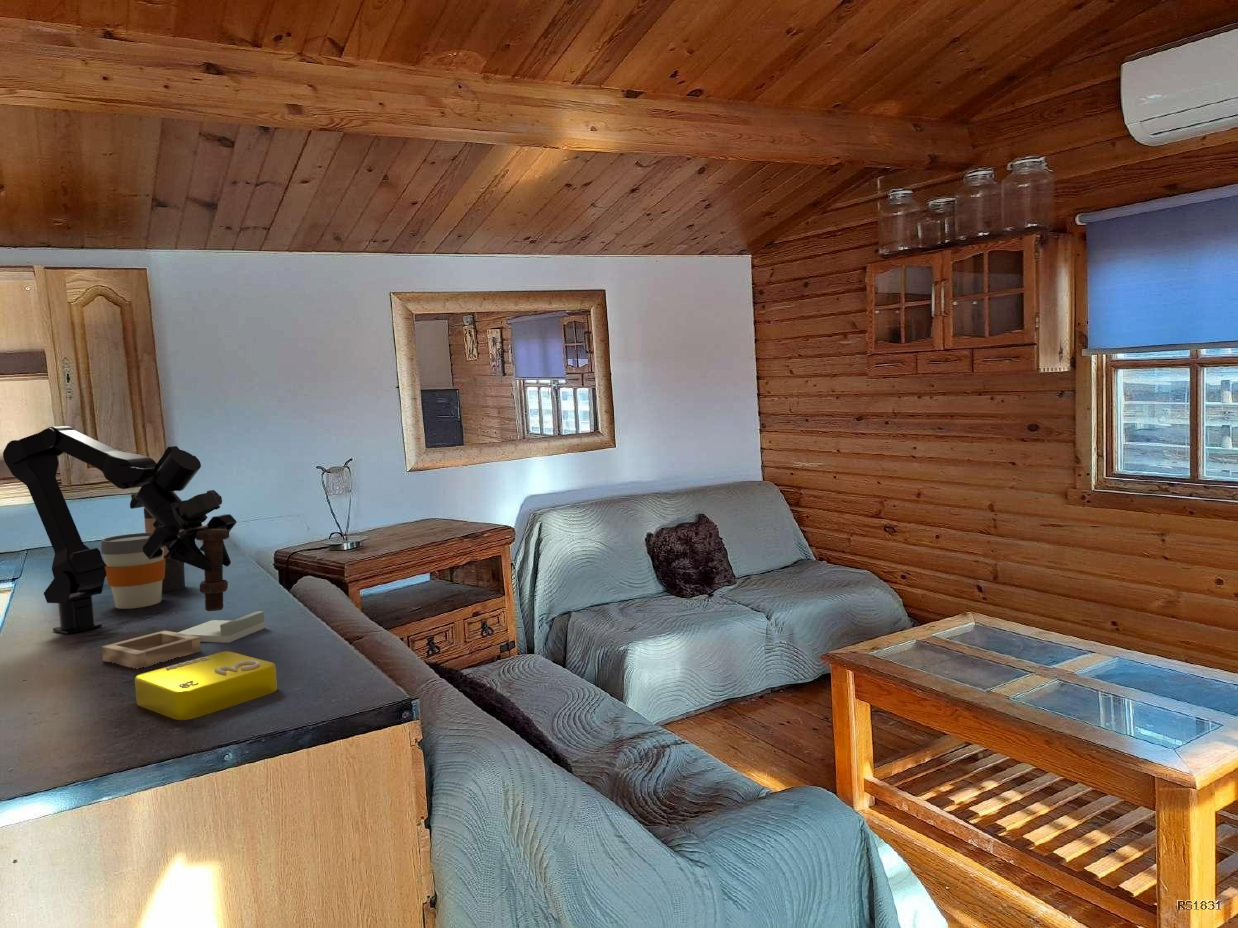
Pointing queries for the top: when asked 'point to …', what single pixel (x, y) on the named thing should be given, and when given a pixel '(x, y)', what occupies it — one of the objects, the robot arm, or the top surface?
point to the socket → (151, 649)
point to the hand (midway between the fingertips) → (220, 567)
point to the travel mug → (167, 563)
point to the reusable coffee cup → (132, 571)
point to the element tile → (205, 685)
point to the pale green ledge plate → (227, 628)
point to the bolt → (213, 579)
